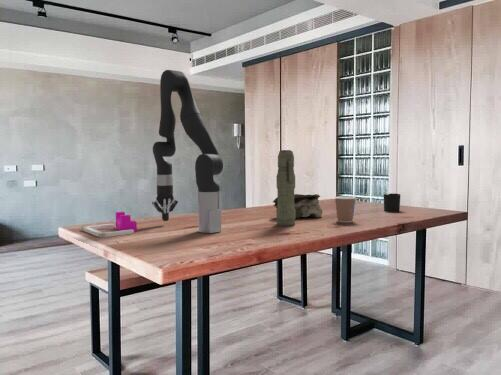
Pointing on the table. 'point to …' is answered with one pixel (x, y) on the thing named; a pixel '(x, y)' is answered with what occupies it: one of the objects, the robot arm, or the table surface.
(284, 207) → the green stone statue
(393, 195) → the pen holder
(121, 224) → the toy block
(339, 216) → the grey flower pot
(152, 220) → the table surface
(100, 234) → the frame
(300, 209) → the hollow geode rock
